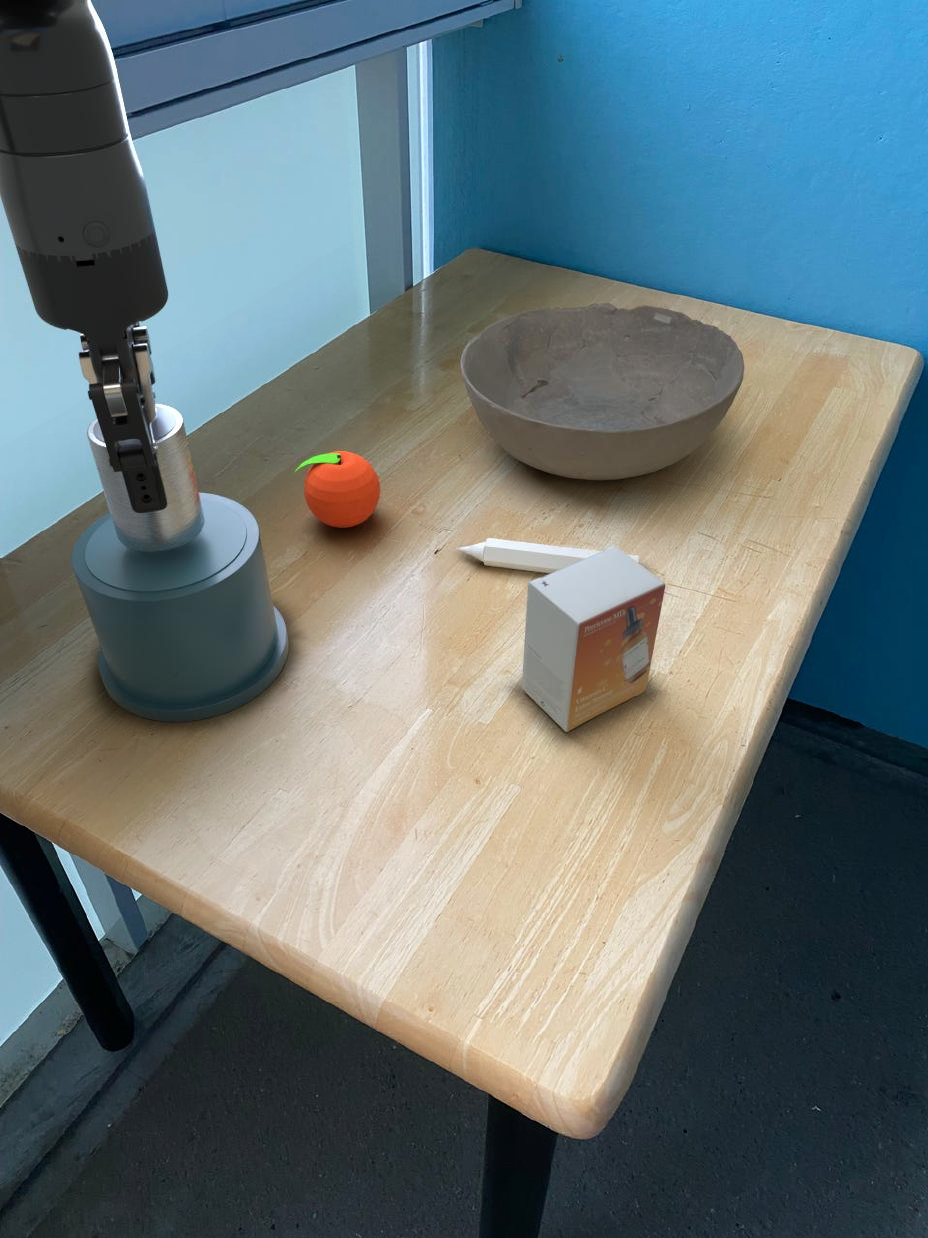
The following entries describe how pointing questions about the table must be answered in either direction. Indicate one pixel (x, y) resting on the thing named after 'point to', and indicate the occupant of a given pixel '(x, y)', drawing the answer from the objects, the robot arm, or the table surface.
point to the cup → (179, 482)
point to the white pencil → (527, 555)
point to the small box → (590, 636)
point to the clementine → (341, 488)
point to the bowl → (601, 387)
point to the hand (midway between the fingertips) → (149, 481)
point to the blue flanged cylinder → (183, 616)
